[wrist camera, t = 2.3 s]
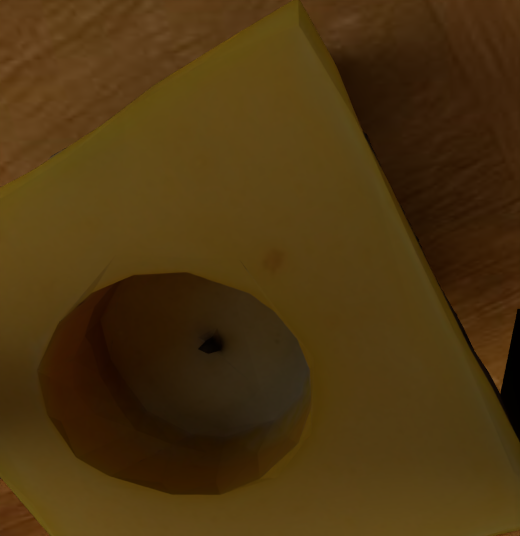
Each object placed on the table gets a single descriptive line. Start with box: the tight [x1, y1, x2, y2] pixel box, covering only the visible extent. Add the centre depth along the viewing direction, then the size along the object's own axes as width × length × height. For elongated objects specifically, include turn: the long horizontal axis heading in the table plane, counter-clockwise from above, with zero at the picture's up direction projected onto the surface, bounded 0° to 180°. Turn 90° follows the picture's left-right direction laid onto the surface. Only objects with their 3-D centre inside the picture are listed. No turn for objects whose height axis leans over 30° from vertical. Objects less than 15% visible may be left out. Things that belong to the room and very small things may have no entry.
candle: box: [0, 0, 520, 536], centre depth 14 cm, size 10×10×10 cm
